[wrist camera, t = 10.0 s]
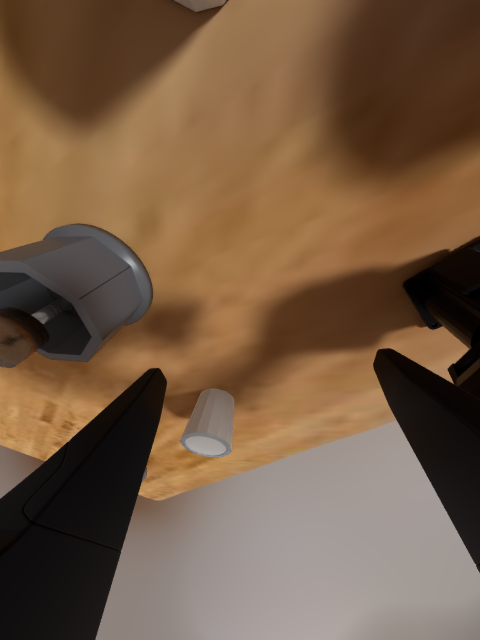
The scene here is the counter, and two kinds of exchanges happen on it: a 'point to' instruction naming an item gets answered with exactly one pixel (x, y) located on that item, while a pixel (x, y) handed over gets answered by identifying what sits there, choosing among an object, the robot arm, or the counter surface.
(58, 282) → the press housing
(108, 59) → the counter surface
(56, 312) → the plunger
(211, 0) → the white cup
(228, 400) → the shot glass
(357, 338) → the counter surface
